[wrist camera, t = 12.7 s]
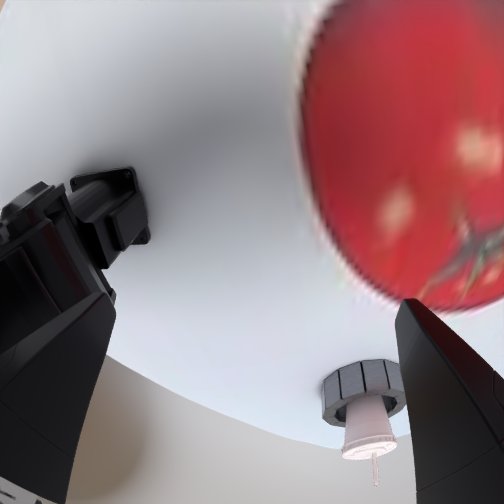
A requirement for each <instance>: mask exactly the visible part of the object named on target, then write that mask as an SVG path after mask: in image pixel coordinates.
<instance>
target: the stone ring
mask: <svg viewBox="0 0 504 504" xmlns="http://www.w3.org/2000/svg"><path fill="white" fill-rule="evenodd" d="M377 395H381V396H382V399H383V403H384V406H385V409H386V412H387V415H388V418H390V417H391V416H393V415H395V414H396V413H398V412H400V411H401V410H402V409H403V408H404V406H405V405H406V398H405V393H404V388H403V382H402V377H401V372H400V366H399V365H398V364H397V363H394V362H390V361H388V360H385V359H384V360H383V359H380V360H367V361H362V362H361V363H360V361H359V362H357V363H354V364H351V365H348V366H345V367H343V368H340V369H339V370H336V371H335V372H334V373H333V374H331V375H330V376H329V377H327V378H326V379H325V381H323V386H322V390H321V397H322V418H323V419H324V420H325V421H326V422H327V423H329V424H330V425H333V426H339V427H346V411H347V403H348V402H351V401H354V400H357V399H360V398H363V397H367V396H377Z"/></svg>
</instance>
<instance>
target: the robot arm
mask: <svg viewBox="0 0 504 504" xmlns="http://www.w3.org/2000/svg"><path fill="white" fill-rule="evenodd" d="M127 172H129V173H130V176H128V175H127ZM75 181H76V183H77V184H76V183H75ZM70 185H71V188H72V192H73V193H72V194H70V195H69V196H68V197H67V196H66V193H65V191H66V189H65V187H64V184H63V183H61V184H59V185H57V186H54V185H52V186H48V185H46V184H45V183H43V182H42V181H41V182H39V183H37V184H35V185H34V186H32V187H31V188H29V189H27V190H26V191H24V192H23V193H21V194H20V195H18V196H17V197H16V198H14V199H13V200H12V201H11V202H9V203H8V204H7V205H6V206H4V207H3V208H2V212H1V216H0V504H42V503H41V501H39V500H38V499H37V496H40V497H42V498H45V499H47V500H49V501H52V502H55V503H57V504H65V502H66V497H67V491H68V486H69V481H70V476H71V471H72V467H73V462H74V458H75V454H76V449H77V446H78V442H79V438H80V434H81V430H82V427H83V423H84V420H85V417H86V413H87V410H88V407H89V403H90V400H91V397H92V394H93V391H94V388H95V385H96V382H97V379H98V375H99V373H100V370H101V367H102V365H103V361H104V358H105V356H106V352H107V348H108V345H109V341H110V337H111V333H112V330H113V326H114V323H115V319H116V310H115V308H114V304H115V299H116V293H115V291H114V290H113V288H111V287H110V285H109V283H108V282H107V280H106V278H105V276H104V274H103V272H102V271H101V270H102V269H108V268H109V267H110V266H111V264H112V263H113V262H114V261H115V259H116V258H117V257H118V256H119V254H120V253H121V252H124V251H125V250H126V249H127V248H128V247H129V245H143V244H147V243H148V242H149V240H150V234H149V230H148V226H147V223H148V221H147V217H146V213H145V209H144V204H143V200H142V196H141V194H140V193H139V189H138V184H137V179H136V174H135V171H134V169H133V168H132V167H123V168H117V169H111V170H105V171H99V172H94V173H89V174H84V175H79V176H75V177H73V178H72V179H71V180H70ZM142 236H143V237H145V239H143V237H142ZM395 330H396V338H397V346H398V355H399V364H400V372H401V377H402V382H403V388H404V393H405V398H406V404H407V410H408V416H409V423H410V430H411V437H412V445H413V454H414V465H415V477H416V491H417V493H416V498H417V504H504V379H503V378H502V377H501V376H500V375H499V374H498V373H497V372H496V371H495V370H494V369H493V368H492V367H491V366H490V365H489V364H488V363H487V362H486V361H485V360H484V359H483V358H482V357H481V356H480V355H479V354H478V353H477V352H476V351H475V350H474V349H472V348H471V347H470V346H469V345H468V344H467V343H466V342H465V341H464V340H463V339H462V338H461V337H460V336H458V335H457V334H456V333H455V332H454V331H453V330H452V329H451V328H450V327H449V326H447V325H446V324H445V323H444V322H443V321H442V320H441V319H440V318H438V317H437V316H436V315H435V314H434V313H433V312H432V311H430V310H429V309H428V308H427V307H426V306H425V305H423V304H422V303H421V302H420V301H419V300H417V299H416V298H409V299H403V300H402V302H401V305H400V308H399V311H398V313H397V316H396V319H395Z"/></svg>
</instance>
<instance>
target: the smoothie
mask: <svg viewBox="0 0 504 504" xmlns="http://www.w3.org/2000/svg"><path fill="white" fill-rule="evenodd" d="M396 447H397V437H396V436H395V435H393V432H392V428H391V425H390V422H389V418H388V415H387V412H386V409H385V406H384V403H383V399H382V396H381V395H377V396H367V397H363V398H360V399H357V400H354V401H351V402H348V403H347V411H346V427H345V440H344V446H343V447H342V448H341V451H342V457H343V458H345V459H349V460H359V459H367V458H372V463H373V478H374V486H378V485H379V476H378V463H377V456H380V455H383V454H385V453H388V452H390V451H392V450H393V449H395V448H396Z"/></svg>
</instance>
